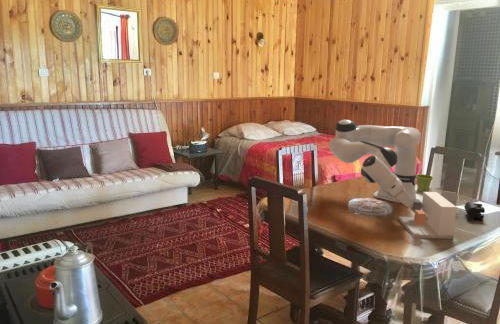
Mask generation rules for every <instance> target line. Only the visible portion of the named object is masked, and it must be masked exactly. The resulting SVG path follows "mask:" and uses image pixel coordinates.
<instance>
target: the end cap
mask: <svg viewBox="0 0 500 324" xmlns="http://www.w3.org/2000/svg"><path fill="white" fill-rule="evenodd" d="M464 210H465V212H466V215H467V217H468V218H469V220H471V221H476V222H484V217H485V215H483V214H485V211H486V210H485V207H484V206H483V204H482V203H476V202H474V201H471V200H470V201H468V202H466V203H465V204H464Z"/></svg>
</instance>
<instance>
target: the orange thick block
mask: <svg viewBox="0 0 500 324" xmlns="http://www.w3.org/2000/svg"><path fill="white" fill-rule="evenodd" d="M413 217H414V222H415V223H416V224H417V225H425V221H428V215H426V213H425V212H424V211H423V210H422V209H421V210H415V213H414V216H413Z"/></svg>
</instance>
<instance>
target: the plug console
mask: <svg viewBox="0 0 500 324" xmlns="http://www.w3.org/2000/svg"><path fill="white" fill-rule="evenodd" d="M441 195H442V194H440V193H438V192H436V191H426V192H423V191H422V201H421V202H422V203H423V204H424V208H423V209H421V210H423V211H424V212H425V213H426V215H428V221H425V225H417V224H416V223H415V222H414V216H399V217H398V221H399V222H400V223H401V224H402V225H403V227H404V228H405V229H406V230H407V231H408V232H409V234H410V235H411V236H412V237H413V239H436V240H437V239H440V240H453V239H454V233H455V226H456V225H455V224H456V217H457V210H458V207H457V205H456V206H454V205H453V204H452V203H450V202H449V201H448V200H446V199H445V198H444V197H442V196H441Z"/></svg>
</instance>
